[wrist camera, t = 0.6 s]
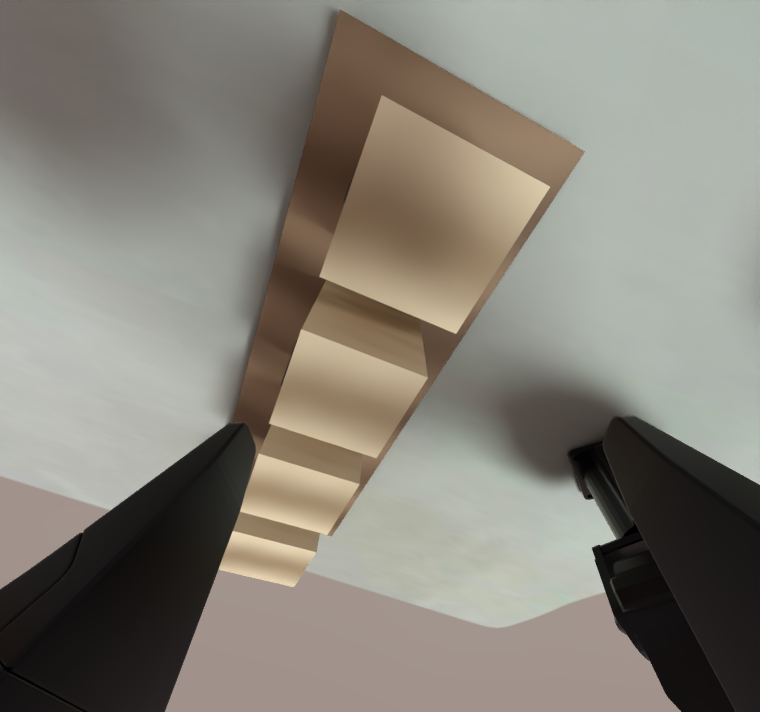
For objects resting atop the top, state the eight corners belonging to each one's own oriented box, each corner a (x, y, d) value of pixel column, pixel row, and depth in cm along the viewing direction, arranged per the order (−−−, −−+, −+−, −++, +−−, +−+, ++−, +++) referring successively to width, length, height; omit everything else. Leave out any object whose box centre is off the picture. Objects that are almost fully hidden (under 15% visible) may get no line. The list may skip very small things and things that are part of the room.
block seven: (323, 279, 19) (297, 327, 14) (419, 319, 20) (427, 377, 15) (295, 358, 22) (265, 422, 17) (380, 389, 23) (376, 458, 18)
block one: (383, 109, 15) (377, 92, 10) (500, 173, 16) (550, 186, 11) (338, 238, 18) (315, 275, 13) (439, 283, 19) (456, 333, 14)
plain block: (288, 386, 23) (258, 453, 18) (367, 413, 24) (359, 484, 19) (268, 440, 26) (238, 511, 21) (339, 463, 28) (327, 535, 22)
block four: (260, 459, 28) (229, 530, 23) (329, 480, 29) (316, 552, 24) (246, 499, 31) (216, 569, 26) (309, 516, 32) (293, 587, 27)
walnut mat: (343, 17, 14) (340, 9, 13) (574, 151, 16) (584, 151, 15) (216, 494, 32) (211, 503, 31) (333, 526, 34) (331, 536, 34)
